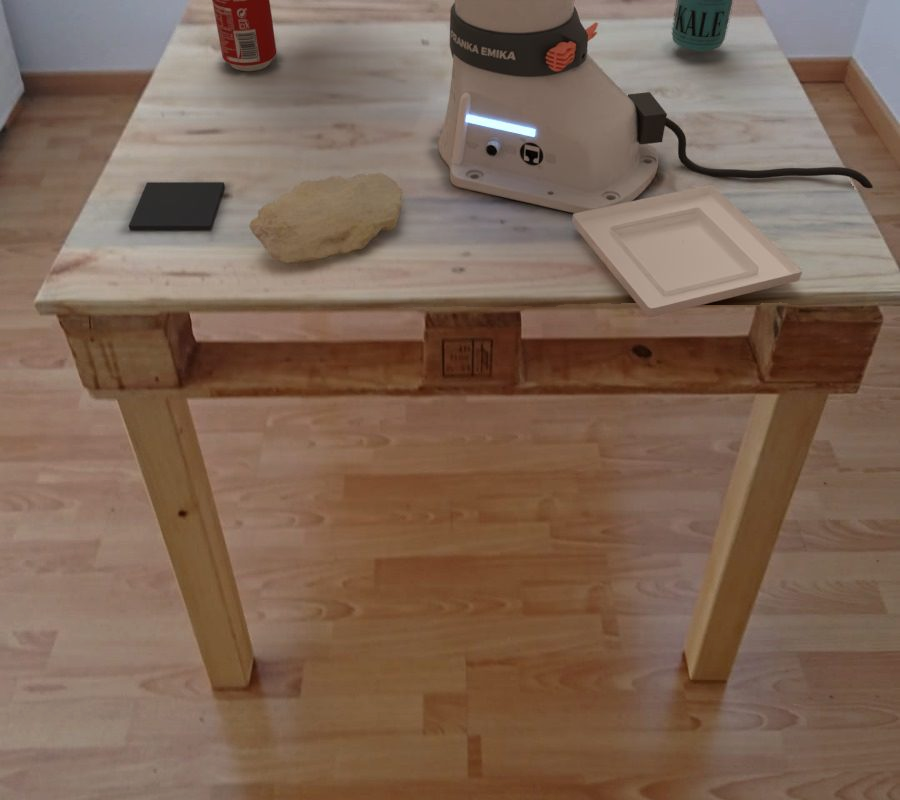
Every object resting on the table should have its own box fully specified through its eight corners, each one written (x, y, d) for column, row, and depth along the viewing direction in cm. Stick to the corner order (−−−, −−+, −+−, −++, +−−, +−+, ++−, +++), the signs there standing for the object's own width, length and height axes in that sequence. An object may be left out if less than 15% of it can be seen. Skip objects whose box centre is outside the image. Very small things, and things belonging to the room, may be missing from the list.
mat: (224, 186, 92) (224, 181, 92) (211, 230, 87) (210, 225, 86) (148, 186, 92) (146, 182, 92) (129, 230, 87) (128, 225, 86)
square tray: (646, 327, 77) (797, 289, 80) (650, 308, 75) (803, 271, 79) (569, 231, 86) (707, 202, 90) (571, 213, 85) (711, 183, 89)
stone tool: (239, 191, 80) (381, 144, 88) (232, 218, 84) (369, 171, 91) (290, 269, 79) (429, 214, 86) (280, 294, 82) (416, 239, 90)
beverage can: (283, 52, 114) (269, -53, 105) (269, 75, 109) (253, -32, 101) (233, 49, 114) (215, -55, 106) (216, 72, 110) (196, -35, 101)
